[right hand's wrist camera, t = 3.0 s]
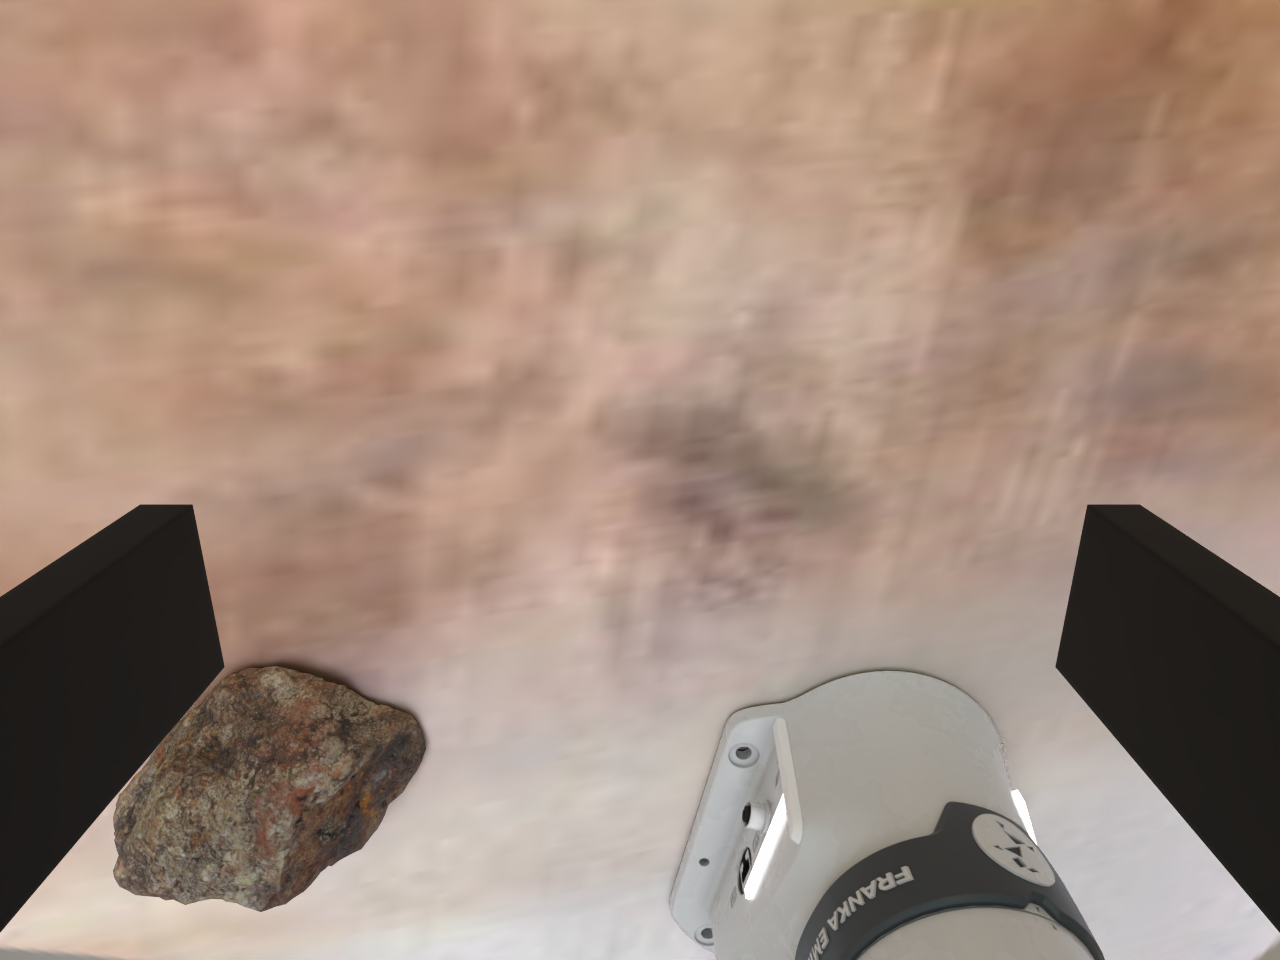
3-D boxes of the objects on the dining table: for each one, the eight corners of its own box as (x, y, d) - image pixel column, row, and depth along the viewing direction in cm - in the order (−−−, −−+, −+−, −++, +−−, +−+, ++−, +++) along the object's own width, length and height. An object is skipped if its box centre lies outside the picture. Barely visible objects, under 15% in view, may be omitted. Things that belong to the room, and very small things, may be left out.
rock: (401, 825, 50) (442, 691, 47) (368, 953, 42) (416, 803, 39) (146, 773, 47) (171, 627, 44) (60, 900, 39) (83, 733, 36)
